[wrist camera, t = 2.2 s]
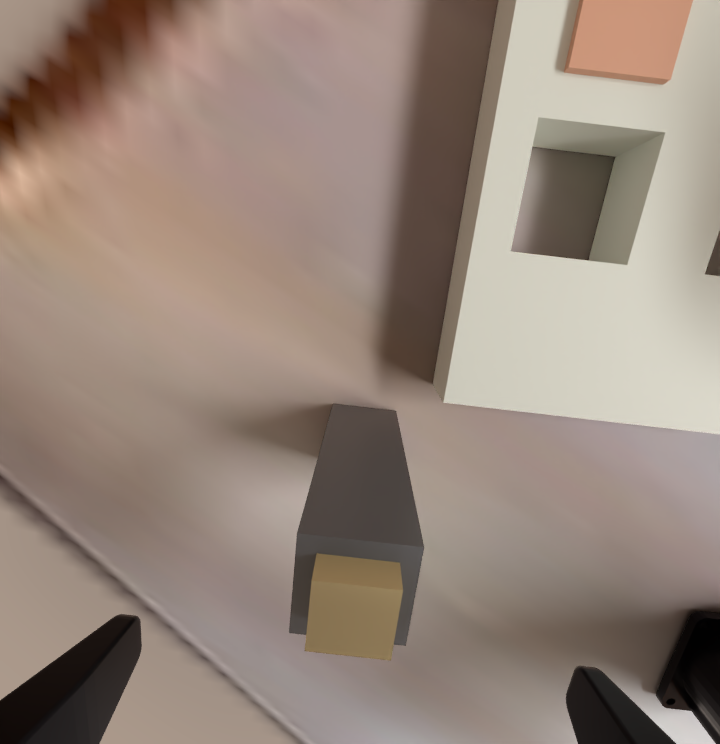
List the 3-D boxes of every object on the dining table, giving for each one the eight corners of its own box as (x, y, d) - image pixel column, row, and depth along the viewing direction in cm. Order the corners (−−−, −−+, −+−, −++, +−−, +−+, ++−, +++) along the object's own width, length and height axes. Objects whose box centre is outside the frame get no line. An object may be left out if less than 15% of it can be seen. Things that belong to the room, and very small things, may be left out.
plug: (387, 467, 18) (408, 678, 9) (327, 460, 18) (282, 665, 9) (395, 410, 17) (429, 574, 8) (333, 403, 17) (290, 558, 8)
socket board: (730, 418, 17) (799, 446, 14) (432, 384, 17) (444, 405, 14) (897, 0, 13) (1037, -73, 10) (506, -49, 13) (543, -136, 10)
